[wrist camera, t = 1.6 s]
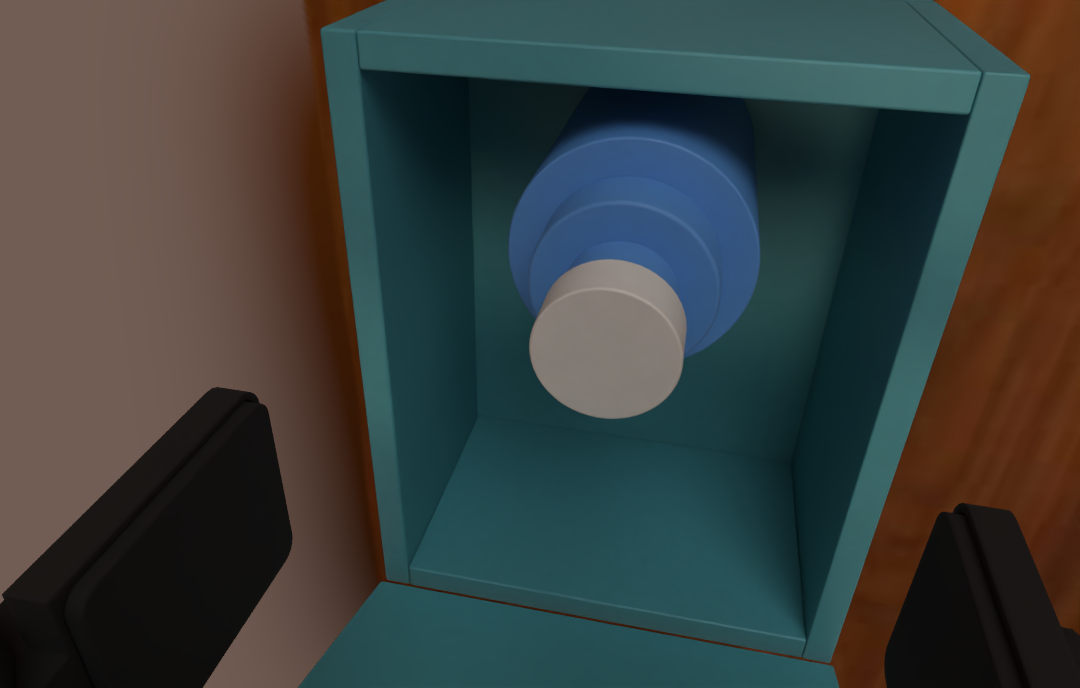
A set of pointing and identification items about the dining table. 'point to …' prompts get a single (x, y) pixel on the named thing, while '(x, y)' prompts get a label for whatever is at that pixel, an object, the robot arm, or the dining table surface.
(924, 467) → the dining table surface
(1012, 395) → the dining table surface
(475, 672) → the lid
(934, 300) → the teal wooden box
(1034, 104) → the dining table surface
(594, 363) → the bottle
